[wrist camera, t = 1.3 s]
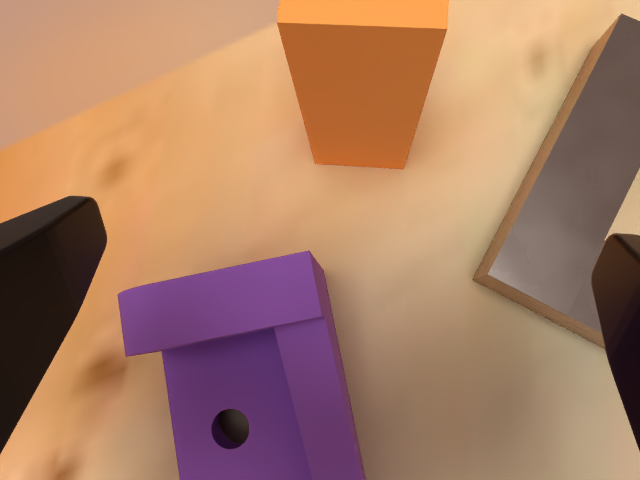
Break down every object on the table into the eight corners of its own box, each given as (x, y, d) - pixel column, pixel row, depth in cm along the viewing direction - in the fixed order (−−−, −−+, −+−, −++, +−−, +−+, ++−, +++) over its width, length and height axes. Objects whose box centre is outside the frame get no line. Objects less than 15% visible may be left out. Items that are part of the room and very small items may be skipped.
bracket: (175, 302, 23) (97, 294, 16) (324, 271, 22) (309, 250, 16) (218, 589, 21) (150, 721, 14) (382, 559, 20) (393, 679, 14)
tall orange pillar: (403, 169, 22) (447, 28, 12) (315, 163, 23) (277, 22, 12) (408, 85, 23) (455, -124, 12) (322, 81, 23) (292, -125, 12)
